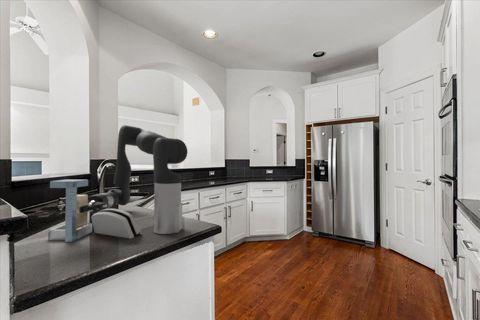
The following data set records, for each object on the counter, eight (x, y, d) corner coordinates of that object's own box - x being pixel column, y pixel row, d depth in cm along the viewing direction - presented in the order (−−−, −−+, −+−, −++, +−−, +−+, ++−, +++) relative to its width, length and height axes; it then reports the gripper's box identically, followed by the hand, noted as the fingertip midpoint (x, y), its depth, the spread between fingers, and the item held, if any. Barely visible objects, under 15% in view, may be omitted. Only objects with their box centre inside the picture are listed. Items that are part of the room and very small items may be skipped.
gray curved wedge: (142, 234, 82) (135, 208, 79) (132, 242, 78) (124, 215, 75) (106, 229, 88) (98, 204, 85) (95, 236, 84) (86, 211, 81)
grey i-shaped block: (92, 232, 84) (92, 179, 84) (71, 242, 74) (72, 181, 74) (67, 232, 84) (68, 178, 84) (42, 242, 73) (44, 181, 74)
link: (87, 226, 92) (87, 194, 92) (80, 229, 88) (81, 196, 88) (76, 226, 92) (77, 194, 92) (69, 229, 88) (70, 196, 88)
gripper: (83, 193, 104) (54, 199, 87) (117, 193, 104) (94, 199, 87) (83, 211, 104) (53, 220, 87) (116, 211, 104) (93, 220, 87)
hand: (74, 210), depth 87 cm, fingers closed on link, 4 cm apart
